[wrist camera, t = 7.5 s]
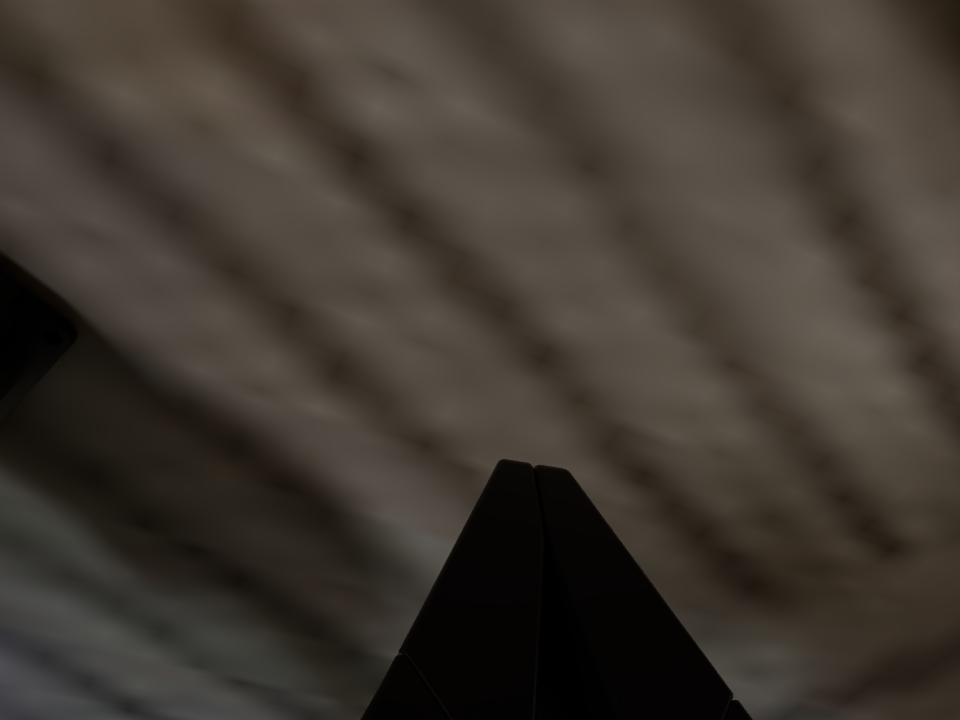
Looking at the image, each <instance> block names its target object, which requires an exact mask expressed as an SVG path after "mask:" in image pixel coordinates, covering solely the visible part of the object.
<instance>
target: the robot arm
mask: <svg viewBox="0 0 960 720" xmlns="http://www.w3.org/2000/svg"><path fill="white" fill-rule="evenodd" d="M51 330H52V331H55V332H57V333H58V334H59V335H60V336H61V338H58V337H56V336H54V335H53V334H52V332H51ZM76 338H77V331H76V329H75V327H74V326H73V325H72V324H71V323H70V322H69V321H68V320H67V319H65V318H64V317H62V316H61V315H60V314H58V313H57V312H56V311H54V310H53V309H51V308H50V307H49V306H47V305H46V304H44V303H43V302H42V301H40V300H39V299H38V298H36V297H35V296H33V295H32V294H31V293H29V292H28V291H27V290H25V289H24V288H22V287H21V286H20V285H18V284H17V283H15V282H14V281H13V280H11V279H10V278H9V277H7V276H6V275H4V274H3V273H2V272H0V422H1V421H2V420H3V419H4V418H5V417H6V416H7V415H8V413H9V412H10V411H11V410H12V409H13V408H14V407H15V406H16V405H17V404H18V403H19V402H20V401H21V399H22V398H23V397H24V396H25V395H26V394H27V393H28V392H29V391H30V390H31V389H32V388H33V386H34V385H35V384H36V383H37V382H38V381H39V380H40V379H41V378H42V377H43V376H44V375H45V373H46V372H47V371H48V370H49V369H50V368H51V367H52V366H53V365H54V364H55V363H56V362H57V360H58V359H59V358H60V357H61V356H62V355H63V354H64V353H65V352H66V351H67V350H68V349H69V347H70V346H71V345H72V344H73V343H74V342H75V340H76ZM732 699H733V693H732V691H731V690H730V689H729V687H728V686H727V685H726V683H725V682H724V681H723V679H722V678H721V676H720V675H719V674H718V672H717V671H716V670H715V668H714V667H713V666H712V664H711V663H710V662H709V660H708V659H707V657H706V656H705V655H704V653H703V652H702V651H701V649H700V648H699V647H698V645H697V644H696V643H695V641H694V640H693V639H692V637H691V636H690V634H689V633H688V632H687V630H686V629H685V628H684V626H683V625H682V624H681V622H680V621H679V620H678V618H677V617H676V615H675V614H674V613H673V611H672V610H671V609H670V607H669V606H668V605H667V603H666V602H665V601H664V599H663V598H662V596H661V595H660V594H659V592H658V591H657V590H656V588H655V587H654V586H653V584H652V583H651V582H650V580H649V579H648V577H647V576H646V575H645V573H644V572H643V571H642V569H641V568H640V567H639V565H638V564H637V563H636V561H635V560H634V558H633V557H632V556H631V554H630V553H629V552H628V550H627V549H626V548H625V546H624V545H623V544H622V542H621V541H620V539H619V538H618V537H617V535H616V534H615V533H614V531H613V530H612V529H611V527H610V526H609V525H608V523H607V522H606V520H605V519H604V518H603V516H602V515H601V514H600V512H599V511H598V510H597V508H596V507H595V506H594V504H593V503H592V501H591V500H590V499H589V497H588V496H587V495H586V493H585V492H584V491H583V489H582V488H581V487H580V485H579V484H578V482H577V481H576V480H575V478H574V477H573V476H572V474H571V473H570V472H569V471H567V470H566V469H563V468H557V467H551V466H544V465H537V466H535V467H534V468H533V466H532V465H531V464H529V463H526V462H520V461H513V460H507V459H502V460H500V461H499V462H498V463H497V465H496V467H495V469H494V471H493V473H492V475H491V476H490V478H489V480H488V482H487V484H486V486H485V488H484V490H483V492H482V494H481V496H480V497H479V499H478V501H477V503H476V505H475V507H474V509H473V511H472V513H471V515H470V516H469V518H468V520H467V522H466V524H465V526H464V528H463V530H462V532H461V534H460V536H459V537H458V539H457V541H456V543H455V545H454V547H453V549H452V551H451V553H450V555H449V557H448V558H447V560H446V562H445V564H444V566H443V568H442V570H441V572H440V574H439V576H438V577H437V579H436V581H435V583H434V585H433V587H432V589H431V591H430V593H429V595H428V597H427V598H426V600H425V602H424V604H423V606H422V608H421V610H420V612H419V614H418V616H417V617H416V619H415V621H414V623H413V625H412V627H411V629H410V631H409V633H408V635H407V637H406V638H405V640H404V642H403V644H402V646H401V648H400V650H399V653H398V655H397V656H396V657H395V658H394V660H393V662H392V664H391V666H390V668H389V670H388V672H387V674H386V676H385V678H384V680H383V681H382V683H381V685H380V687H379V689H378V690H377V692H376V694H375V696H374V697H373V699H372V701H371V702H370V704H369V706H368V708H367V709H366V711H365V713H364V715H363V716H362V718H361V720H753V719H752V718H751V717H750V715H749V714H748V713H747V711H746V710H745V709H744V707H743V706H742V705H741V703H740V702H739V701H738V700H733V701H732Z"/></svg>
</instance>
